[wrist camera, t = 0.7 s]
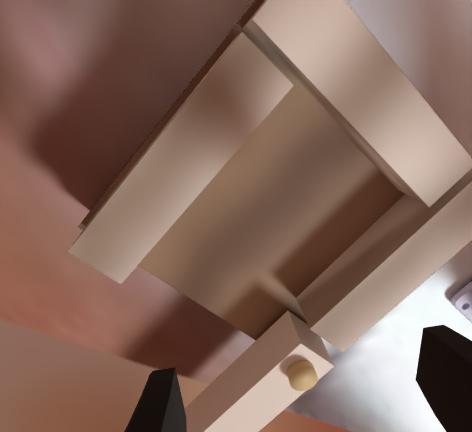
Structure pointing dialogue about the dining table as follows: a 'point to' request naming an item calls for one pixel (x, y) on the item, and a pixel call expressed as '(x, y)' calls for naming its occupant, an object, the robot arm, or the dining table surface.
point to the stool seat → (290, 181)
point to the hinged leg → (261, 380)
